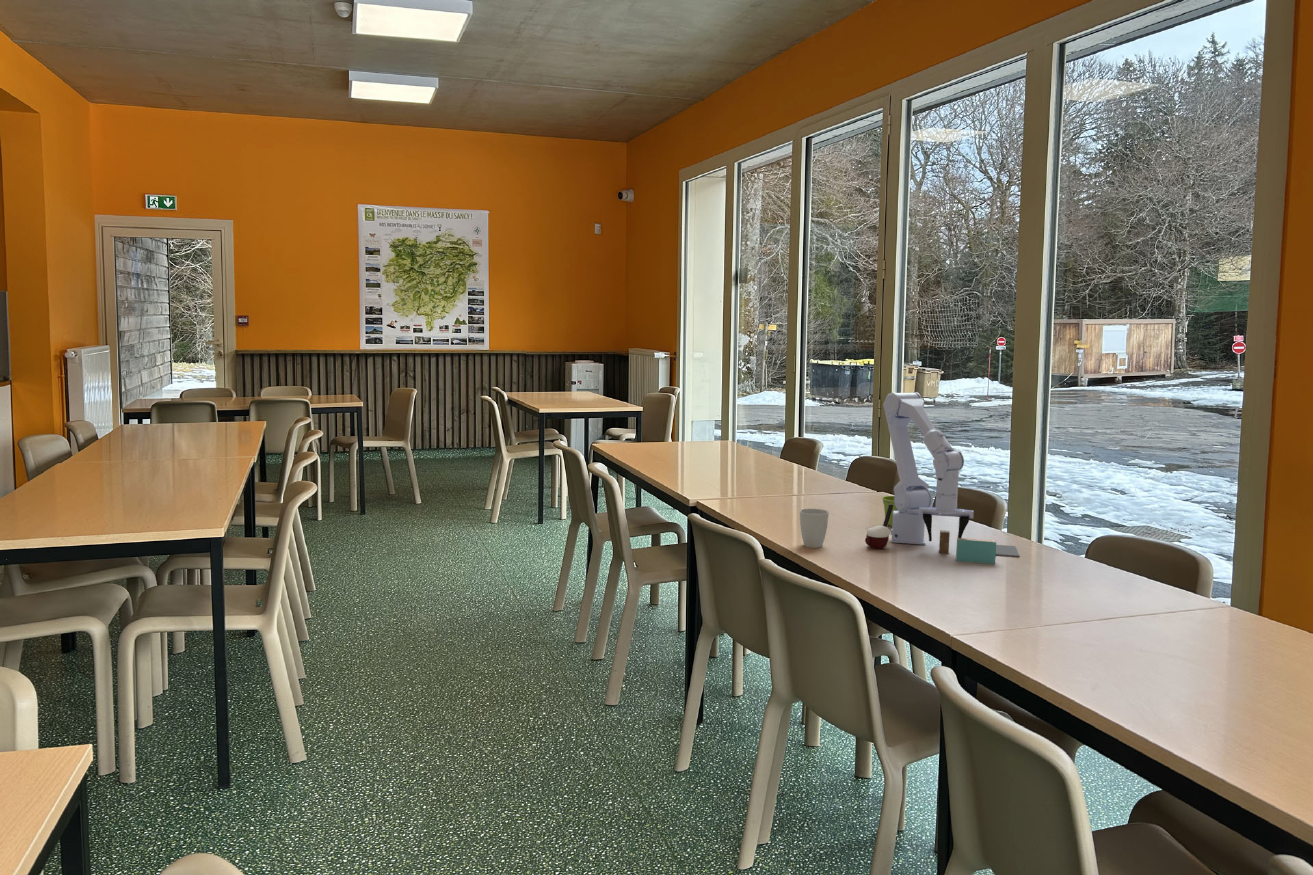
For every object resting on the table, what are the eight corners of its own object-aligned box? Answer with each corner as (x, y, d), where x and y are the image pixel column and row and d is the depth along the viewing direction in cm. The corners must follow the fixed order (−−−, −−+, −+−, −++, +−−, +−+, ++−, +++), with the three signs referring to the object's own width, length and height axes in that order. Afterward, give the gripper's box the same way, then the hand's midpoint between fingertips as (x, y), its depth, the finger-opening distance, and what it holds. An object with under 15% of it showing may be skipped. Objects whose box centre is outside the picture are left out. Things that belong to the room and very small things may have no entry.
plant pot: (908, 522, 305) (909, 496, 304) (913, 528, 296) (914, 501, 295) (878, 521, 306) (879, 495, 305) (882, 527, 297) (883, 500, 296)
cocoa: (866, 551, 267) (867, 510, 265) (859, 545, 273) (859, 505, 271) (899, 549, 268) (899, 508, 266) (890, 543, 274) (891, 503, 272)
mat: (973, 553, 264) (973, 552, 264) (971, 544, 276) (971, 542, 276) (1019, 557, 261) (1019, 555, 261) (1015, 547, 273) (1015, 546, 273)
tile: (956, 561, 256) (957, 539, 256) (955, 559, 258) (956, 537, 257) (995, 564, 254) (996, 542, 253) (994, 562, 256) (995, 540, 255)
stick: (939, 553, 265) (940, 531, 264) (939, 550, 267) (940, 530, 266) (948, 553, 264) (949, 532, 263) (948, 551, 267) (949, 530, 266)
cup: (826, 542, 275) (827, 509, 274) (828, 549, 267) (829, 514, 266) (798, 541, 276) (799, 508, 275) (799, 548, 268) (800, 513, 267)
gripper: (919, 494, 262) (917, 542, 263) (975, 497, 258) (972, 546, 260) (919, 490, 269) (917, 537, 270) (973, 493, 265) (971, 541, 266)
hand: (944, 541), depth 265 cm, fingers open, 7 cm apart
